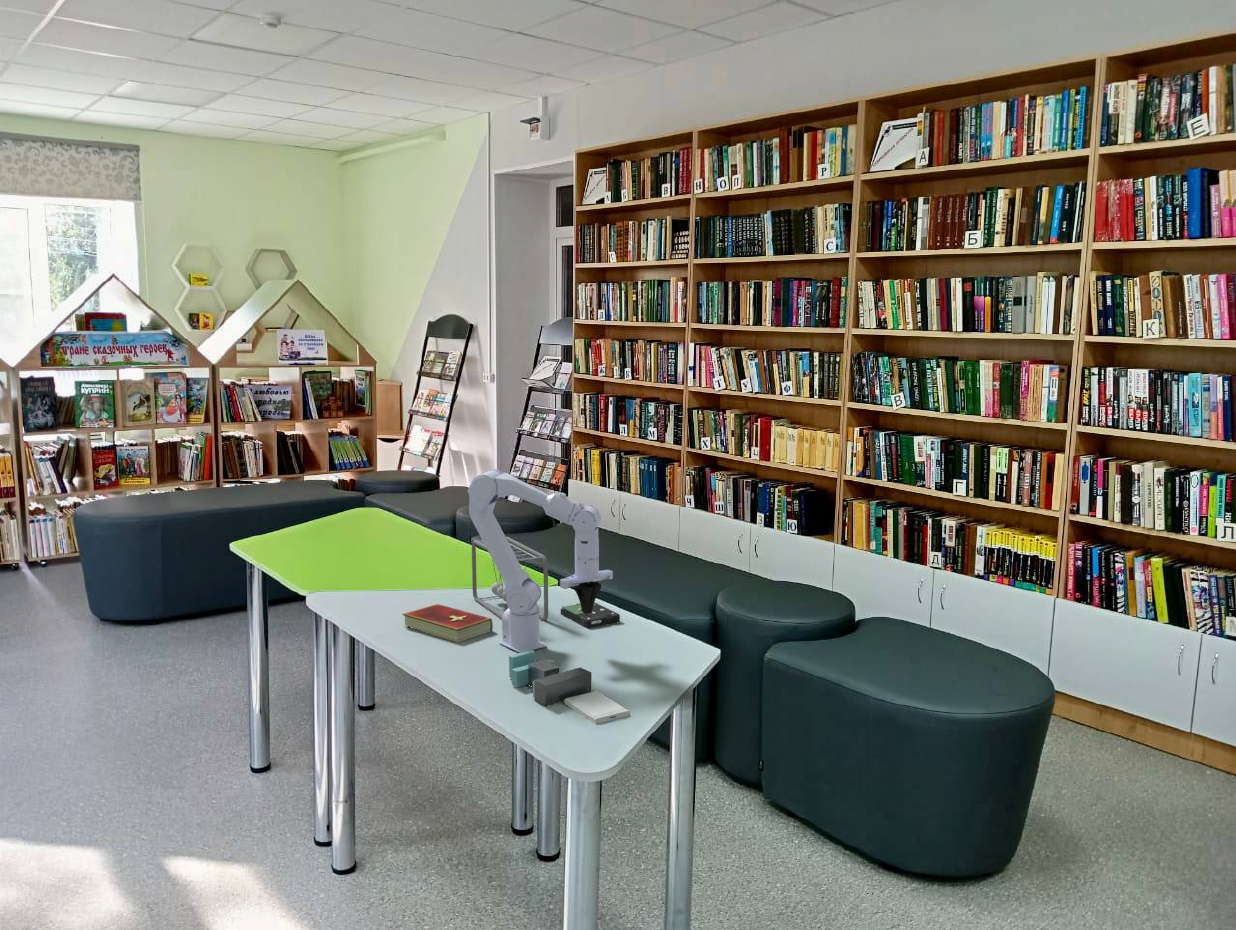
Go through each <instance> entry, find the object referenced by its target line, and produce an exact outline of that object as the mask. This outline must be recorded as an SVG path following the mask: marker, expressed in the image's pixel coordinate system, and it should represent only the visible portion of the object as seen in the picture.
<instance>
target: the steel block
mask: <svg viewBox="0 0 1236 930" xmlns="http://www.w3.org/2000/svg"><path fill="white" fill-rule="evenodd" d="M558 673H560V667H559V666H557V665H555V664H554V665H553V664H551V663H549V662H547V661H544V659H542V660H538V661H535V662H534V663H530V664H528V684H527V685H530V686H532V687H533V681H534V680H537V679H540V678H544V677H547V676H551V675H554V674H558ZM530 686H529V687H530ZM532 687H531V688H532Z"/></svg>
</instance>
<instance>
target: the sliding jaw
mask: <svg viewBox="0 0 1236 930" xmlns="http://www.w3.org/2000/svg"><path fill="white" fill-rule="evenodd" d="M543 660H544V659H543ZM544 661H547V662H549V663H551V664H553V665H555V660H552V659H550V658H548V659H545V660H544ZM534 662H536V651H535V650H530V651H526V652H522V653H519V652H517V653H514V654H511V655H508V667H509V668H508V669H509V672H508V673H509V675H508V676H509V678H510V679H511V686H514V687H516V688H519V687H523V686H526V685H528V664H530V663H534Z"/></svg>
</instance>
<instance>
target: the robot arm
mask: <svg viewBox="0 0 1236 930" xmlns="http://www.w3.org/2000/svg"><path fill="white" fill-rule="evenodd" d="M467 494H468V496H469V501H468V503H469V504H468V514H469V515H468V516H470V517H469V518H470V519H471V521H472V523H473V526H474V527H475V529H476V531H477V533H478V535H479V536H480V539H481V541H483V542H484V543H483V542H482V543H483V544H484V545H485V546H486V548H487V550H488V551H487V550H486V551H487V552H488V553H489V555H490V558H491V560H492V559H493V561H492V562H493V563H494V566H495V567H496V569H497V571H498V572H499V575H500V574H501V579H502V583H503V590H504V592H505V594H506V599H507V602H506V605H507V609H506V610H505V611H504V612H503V614H502V615H503V617H502V619H501V634H502V635H501V636H502V638H501V639H502V640H501V641H499V644H500V645H501V646H503V647H507V648H508V649H511V650H513V651H514V652H517V653H522V652H526V651H530V650H533V651H535V650H538V649H542V648H545V647H547V646H548V644H546V643H545V642H542V641H541V640H540V619H539V613H540V607H539V606H538V601H540V599H541V596H542V588H541V586H540V585H539V584H538V582H536V581H535V579H534V580H533V578H532V577H531V574H530V573H529V572H528V571H526V569H524V568H522V566H521V563H520V561H518V560H517V559H518V558H517V556H515V551H513V550H514V549H513V548H512V546H511V545H510V544H511V543H510V542H508V541H507V539H506V537H507V536H506V535H505V533H504V531H503V530H502V528H501V526H500V523H499V522H498V520H497V517H496V516H495V515H494V509H495V506H496V504H497V502H498V501H497V500H498V499H499V498H503V497H510V496H514V497H516V498H519V499H521V500H523V501H524V500H525V501H527V502H529V503H531V504H534V505H536V506H538V507H541V508H542V509H543V510H544V513H545V515H546V516H548V517H550V518H554V519H555V520H557V521H560V522H561V523H564V524H566V525H568V526H572V528H573V530H574V532H575V533H574V535H575V536H574V574H572V575H570V576H567V577H565V578H561V579H559V587H560V588H561V589H564V590H567V589H569V588H573V590H574V591H575V593H576V596H577V598H578V600H579V603H580V604H581V608H582V612H583V613H586V614H589V613H592V609H593V605H594V602H595V601H596V599H597V597H598V594H599V592H600V590H601V589H602V584H601V583H600V582H599V581H604V580H612V579H614V577H613V576H614V571H613V570H611V569H604V570H600V560H599V559H600V545H599V544H600V539H599V527H598V526H599V525H600V522H601V520H602V519H601V518H602V517H601V513H600V511H599V510H598V508H596V507H594V506H593V505H592V504H585V503H584V502H582V501H580V502H578V501H576V500H573V499H572V498H569V497H567V494H566V493H564V492H560V493H558V492H554V493H552V494H548V493H546V492H545V491H542V490H540V489H538V488H536V487H534V486H532V485H530V484H529V483H527V482H525V481H523V480H521V479H519V478H517V477H515V476H513V475H511V474H510V473H507V472H503V471H501V470H500V469H496V468H492V469H489V470H487V471H486V472H484V473H482V474H478V475H476V476H475V477H474V478H473V479H472V481H471V483H470V485H469V487H468V489H467ZM509 543H510V544H509ZM595 603H596V602H595Z"/></svg>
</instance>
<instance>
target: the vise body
mask: <svg viewBox="0 0 1236 930" xmlns="http://www.w3.org/2000/svg"><path fill="white" fill-rule="evenodd" d="M592 687H593V685H592V671H589V670H588V669H585V668H582V666H581V667H576V668H573V669H569V670H565V671H561V672H559V673H558V674H554V675H551V676H547V677H544V678H540V679H537V680H534V681H533V688H532V697H533V698H534V702H536V703H538V704H539V705H542V706H544V707H548V706H552V705H555V703H556V704H558V703H561V702H564V701H565V699H566V698H570V697H574V696H578V695H582V694H587V693H591V692H593V691H592V690H593V689H592Z"/></svg>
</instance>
